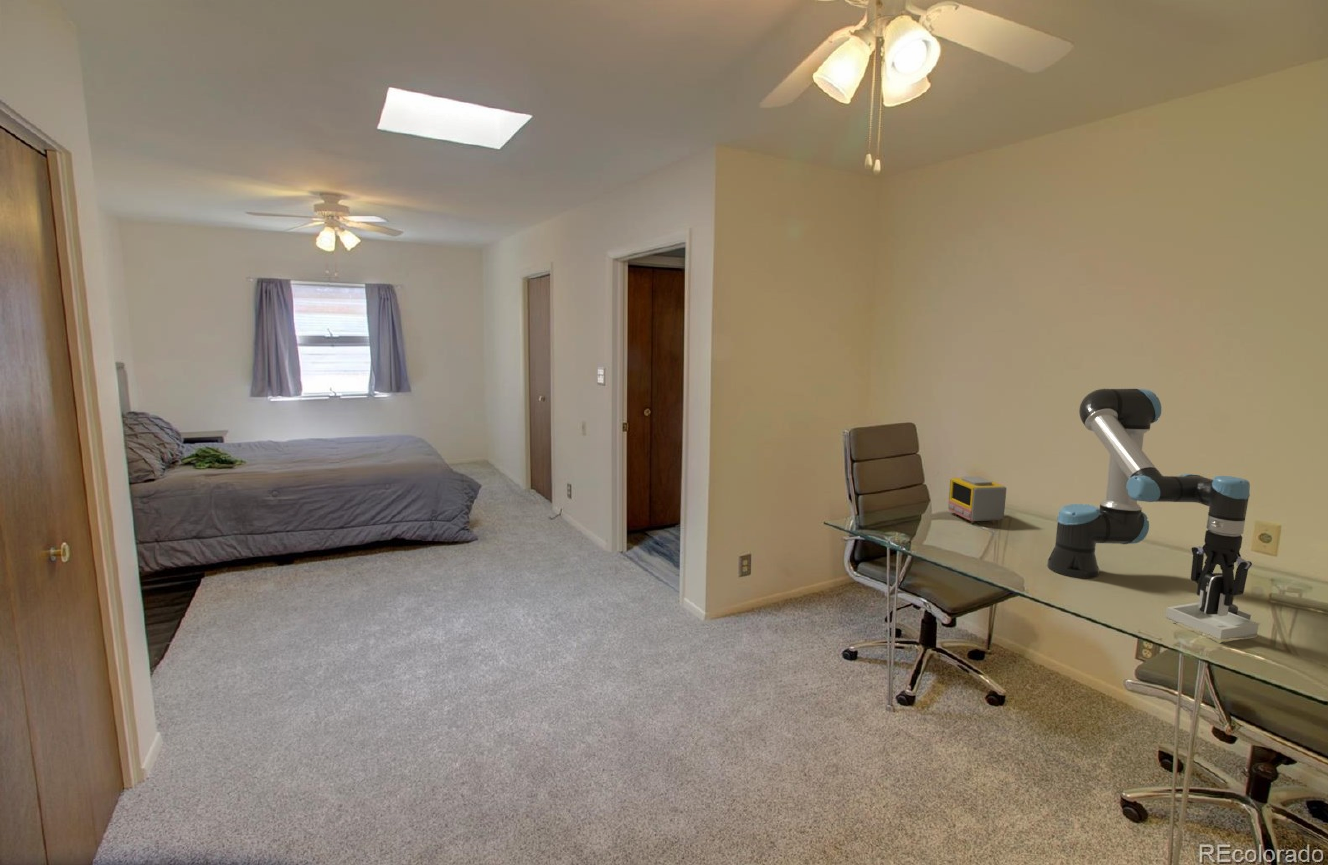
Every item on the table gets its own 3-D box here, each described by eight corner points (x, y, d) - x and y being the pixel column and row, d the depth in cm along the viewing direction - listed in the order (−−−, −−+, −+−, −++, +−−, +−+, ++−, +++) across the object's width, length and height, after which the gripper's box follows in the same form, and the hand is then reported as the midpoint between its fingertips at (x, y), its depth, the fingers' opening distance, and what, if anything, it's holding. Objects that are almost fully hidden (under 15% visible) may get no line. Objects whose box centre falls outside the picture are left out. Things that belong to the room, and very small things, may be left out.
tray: (1165, 620, 175) (1166, 607, 174) (1200, 614, 178) (1202, 601, 178) (1219, 643, 162) (1221, 629, 161) (1256, 636, 165) (1258, 623, 164)
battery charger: (1215, 607, 172) (1222, 570, 170) (1229, 614, 168) (1236, 576, 166) (1193, 609, 171) (1200, 571, 169) (1207, 615, 167) (1214, 577, 165)
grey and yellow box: (945, 512, 282) (948, 474, 279) (976, 511, 284) (980, 473, 281) (971, 525, 263) (974, 485, 260) (1004, 524, 264) (1008, 483, 261)
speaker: (1191, 609, 182) (1193, 595, 181) (1211, 606, 184) (1213, 592, 183) (1229, 624, 172) (1232, 610, 171) (1249, 621, 174) (1252, 606, 173)
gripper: (1180, 524, 173) (1170, 600, 176) (1251, 543, 156) (1238, 626, 160) (1199, 522, 175) (1189, 597, 178) (1271, 541, 158) (1258, 623, 162)
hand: (1212, 611), depth 169 cm, fingers closed on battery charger, 4 cm apart
